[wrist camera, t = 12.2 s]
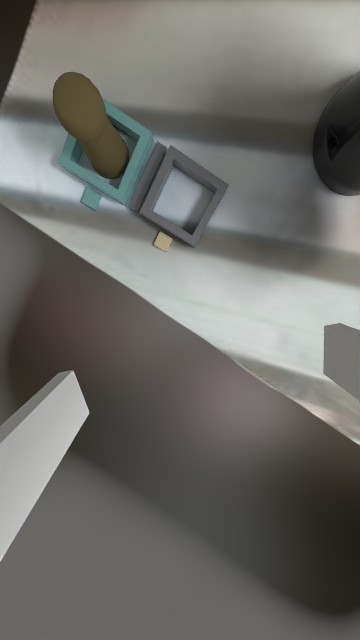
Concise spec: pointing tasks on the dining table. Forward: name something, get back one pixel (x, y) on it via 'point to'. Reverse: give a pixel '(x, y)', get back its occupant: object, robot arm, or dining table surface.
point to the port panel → (144, 177)
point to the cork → (90, 124)
